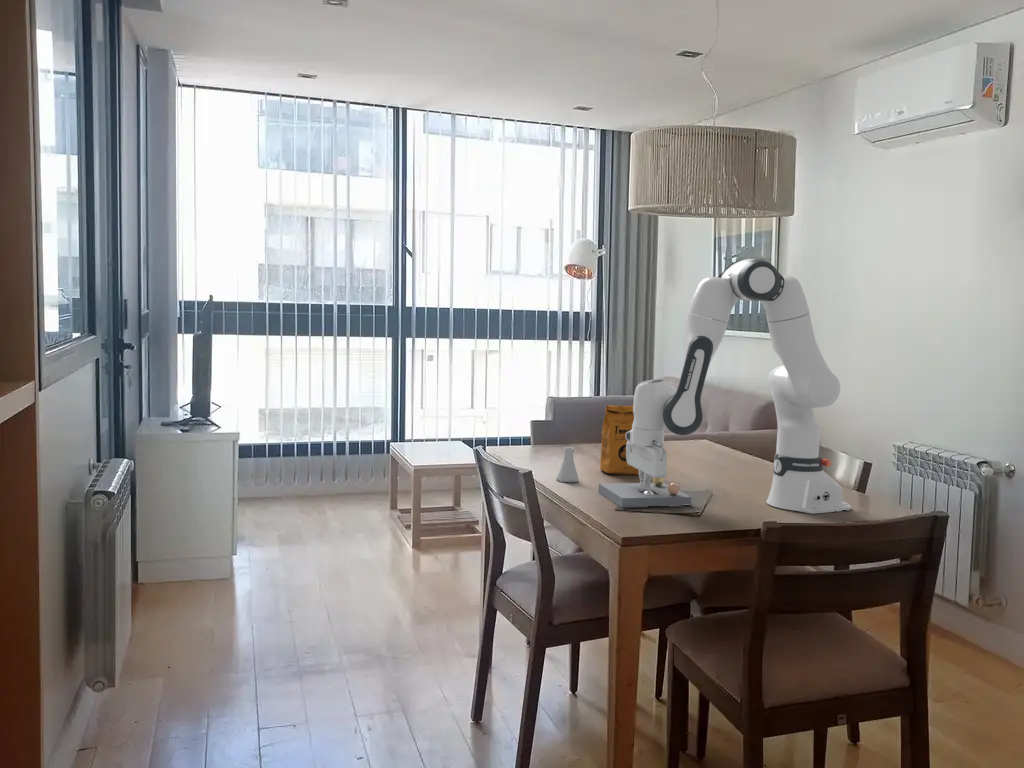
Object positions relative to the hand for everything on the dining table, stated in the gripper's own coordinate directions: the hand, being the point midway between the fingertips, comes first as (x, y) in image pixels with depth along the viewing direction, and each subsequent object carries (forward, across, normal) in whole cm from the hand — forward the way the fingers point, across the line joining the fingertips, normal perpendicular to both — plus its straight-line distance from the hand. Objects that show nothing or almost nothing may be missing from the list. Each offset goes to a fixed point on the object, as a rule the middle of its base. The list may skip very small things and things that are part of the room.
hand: (644, 487), depth 230 cm
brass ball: (-1, +6, -6) cm, 9 cm away
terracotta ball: (-1, -6, -6) cm, 8 cm away
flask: (+4, +26, +14) cm, 29 cm away
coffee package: (+4, +36, -7) cm, 36 cm away
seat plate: (+3, 0, 0) cm, 3 cm away
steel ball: (+2, -3, 0) cm, 4 cm away
